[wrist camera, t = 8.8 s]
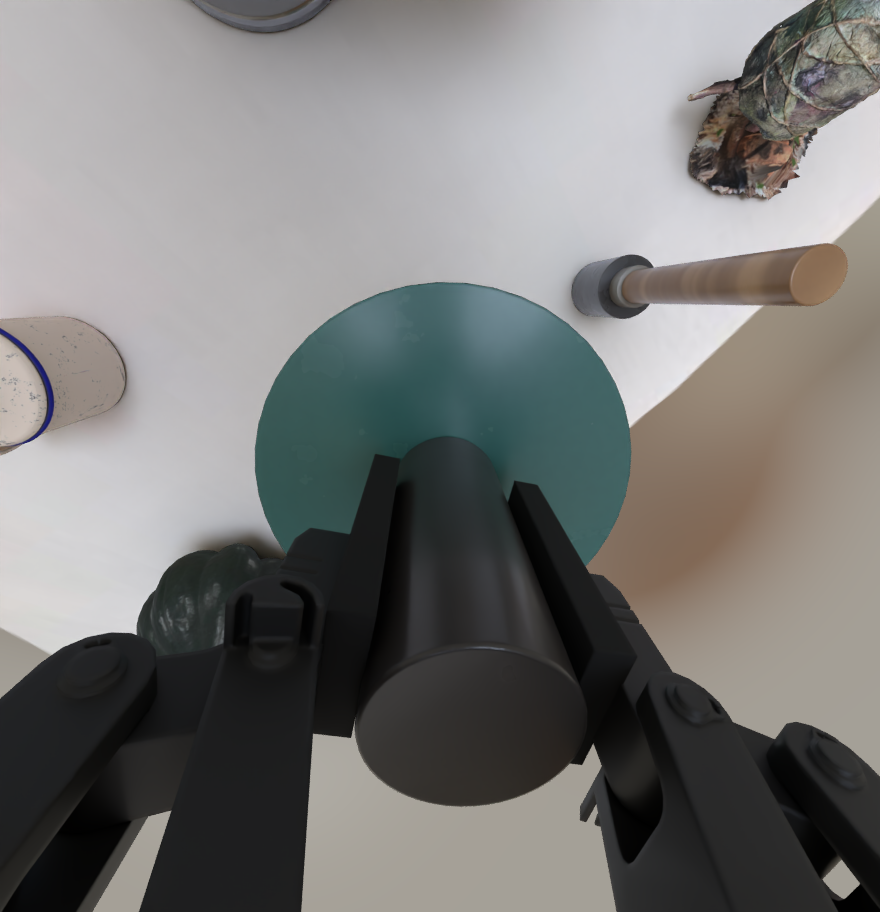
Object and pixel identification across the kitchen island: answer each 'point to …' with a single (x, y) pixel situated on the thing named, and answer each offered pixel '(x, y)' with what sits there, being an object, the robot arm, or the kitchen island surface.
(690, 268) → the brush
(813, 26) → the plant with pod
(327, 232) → the kitchen island surface
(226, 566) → the squash
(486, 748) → the lid
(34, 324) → the teacup with lid
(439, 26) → the kitchen island surface
